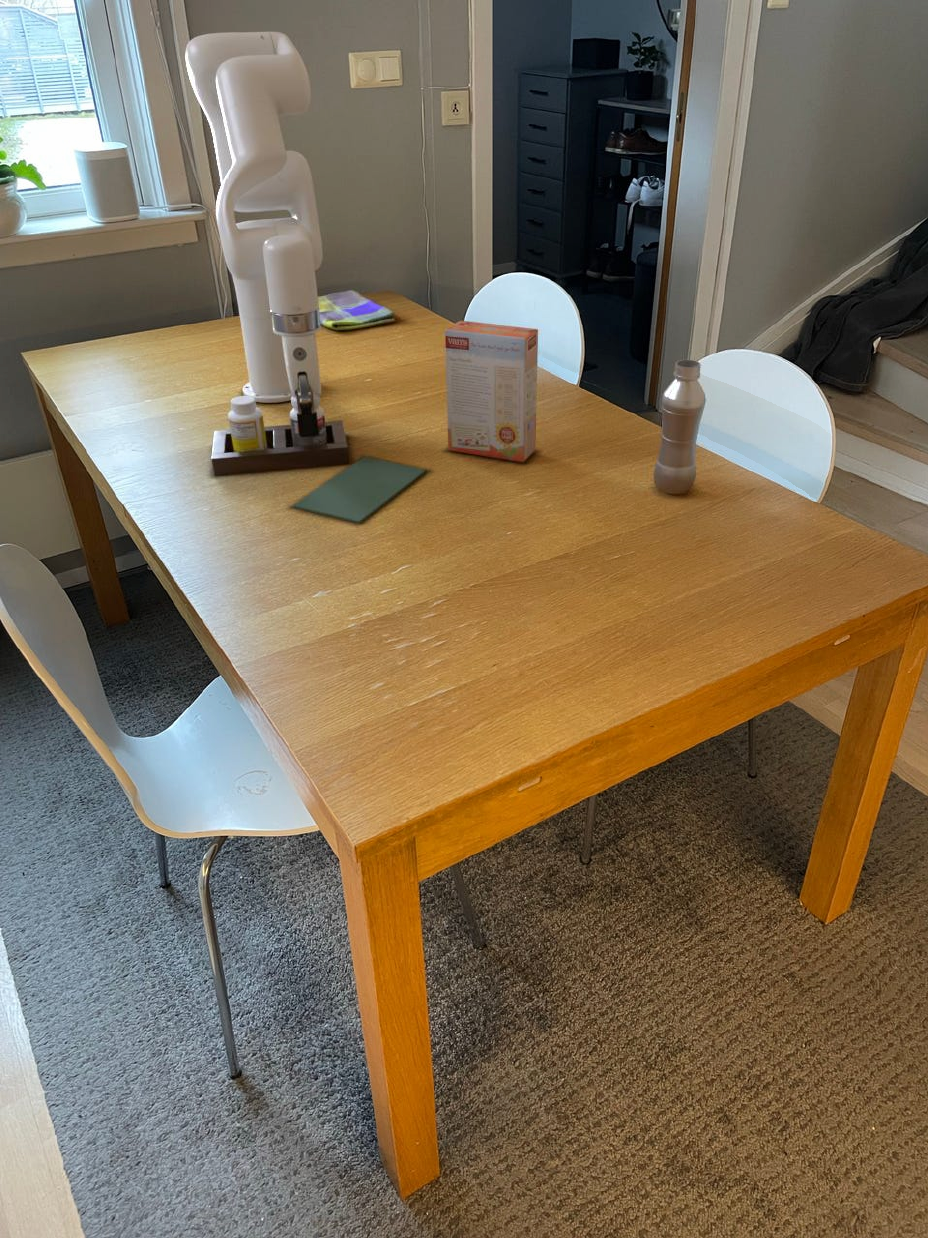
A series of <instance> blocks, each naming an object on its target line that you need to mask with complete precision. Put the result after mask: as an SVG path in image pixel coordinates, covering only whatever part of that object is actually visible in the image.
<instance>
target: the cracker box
mask: <svg viewBox="0 0 928 1238" xmlns="http://www.w3.org/2000/svg"><path fill="white" fill-rule="evenodd" d="M444 336H445V341H444V343H445V377H446V382H445V383H446V416H447V418H446V419H447V445H448V446H447V447H448V451H451V452H456V453H463V454H469V455H473V456H474V455H475V456H481V457H488V458H493V459H500V460H506V461H512V462H516V463H517V462H518V463H525V461H527V459H528V458H529V457H531V455H532V454H533V453H534V452H535V451H536V439H537V437H536V435H537V434H536V433H537V431H536V430H537V401H538V400H537V398H538V397H537V395H538V391H537V390H538V358H539V357H538V354H539V353H538V351H539V349H538V348H539V328H532V327H531V328H530V327H522V326H513V325H505V324H504V325H503V324H494V323H486V322H485V323H484V322H477V321H467V320H458V321H457V322H455V323H454V324H451V326H449V327H447V328H445V329H444Z"/></svg>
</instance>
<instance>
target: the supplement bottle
mask: <svg viewBox="0 0 928 1238" xmlns="http://www.w3.org/2000/svg"><path fill="white" fill-rule="evenodd" d="M230 408H231V410H229V412H228V414H227V418H228V419H227V420H228V423H229V430H231V436H232V442H233V447H234V450H233V452H243V451H255V450H266V449H268V447H267V442H266V435H265V429H264V427H265V422H264V416H263V411H262V410H261V408H259V407H257V402H255V398H254V397H251V396H244V395H239V396H236V397H234V398H231V400H230Z"/></svg>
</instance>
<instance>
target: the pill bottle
mask: <svg viewBox="0 0 928 1238" xmlns="http://www.w3.org/2000/svg"><path fill="white" fill-rule="evenodd" d="M308 394H311V392H308ZM298 395H301V393H298ZM313 396H314V397H313V398H314V407H315V412H317V421H318V430H319V435H318V436H312V437H300V436H299V428H298V420H297V413H298V407H297V399H296V398H295V397H293V396H292V397H291V400H290V402H291V406H292V407H293V408H292V409H291V410H290V411H289V420H290V425H291V429H292V437H293V445H292V447H301V446H313V445H324V444H328V442H327V437H326V427H325V422H326V419H325V412H324V409H323V408H322V407H321V406H320V404H321V399H320V396H318V394H316V395H314V393H313ZM309 401H310V402H311V400H310V398H309ZM300 402H301V399H300ZM311 410H312V409H311ZM301 413H302V412H301Z"/></svg>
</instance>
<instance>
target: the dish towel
mask: <svg viewBox="0 0 928 1238" xmlns="http://www.w3.org/2000/svg"><path fill="white" fill-rule="evenodd" d="M318 305H319V315H320V325H321V326H322V327H325V328H327V329H331V330H335V331H348V330H349V331H350V330H357V329H363V328H368V327H374V326H378V325H384V324H385V325H386V324H391V323H394V322H396V320H395V318H393V317H394V316H395V312H394V311H393V310H391V309H389V308H388V307H385V306H383V305H381V304H378V303H375V302H374V301H372V300H371V299H369V298H366V297H364V296H363V295H361V293H360V292H358V291H355V290H354V289H351V290H346V291H341V292H333V293H329V294H325V295H321V296H318Z"/></svg>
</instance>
